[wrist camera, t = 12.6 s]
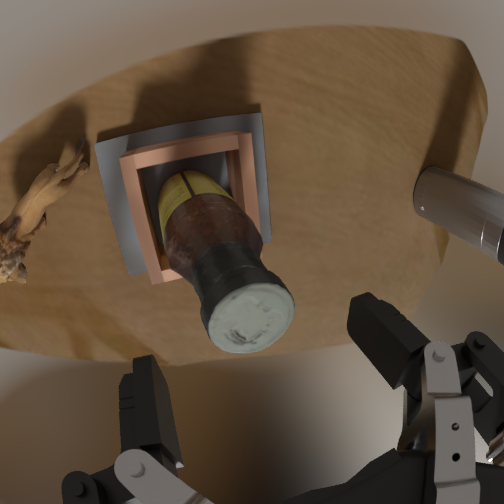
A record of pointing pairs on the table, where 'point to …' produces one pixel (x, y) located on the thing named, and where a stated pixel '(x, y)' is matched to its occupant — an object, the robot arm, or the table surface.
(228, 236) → the sauce bottle
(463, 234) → the robot arm
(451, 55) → the table surface
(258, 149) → the bottle holder
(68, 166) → the lion figurine
